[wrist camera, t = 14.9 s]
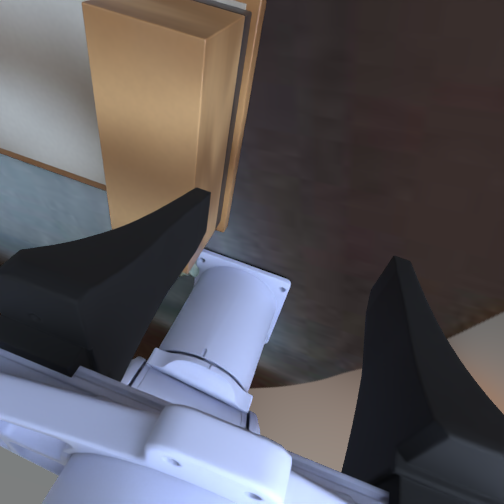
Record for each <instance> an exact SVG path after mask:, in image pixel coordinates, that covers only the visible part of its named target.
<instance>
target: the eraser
mask: <svg viewBox="0 0 504 504" xmlns="http://www.w3.org/2000/svg"><path fill="white" fill-rule="evenodd" d="M81 4H82V12H83V19H84V27H85V34H86V42H87V49H88V56H89V64H90V71H91V79H92V86H93V94H94V101H95V108H96V116H97V123H98V131H99V138H100V145H101V153H102V160H103V168H104V175H105V183H106V190H107V197H108V205H109V212H110V220H111V227H112V230H113V229H116V228H118V227H121V226H124V225H126V224H129V223H131V222H133V221H136V220H138V219H140V218H142V217H144V216H146V215H148V214H150V213H152V212H154V211H156V210H158V209H160V208H161V207H163V206H165V205H167V204H169V203H170V202H172V201H174V200H176V199H177V198H179V197H181V196H182V195H184V194H186V193H187V192H189V191H191V190H192V189H194V188H196V187H197V188H200V189H203V190H206V191H209V192H211V199H210V207H209V215H208V224H207V231H206V233H205V235H204V237H203V239H202V241H201V243H200V245H199V247H198V249H197V251H196V252H195V254H194V255H193V257H192V258H191V260H190V261H189V263H188V264H187V265H186V267H185V268H184V270H183V271H182V272H183V273H186V274H188V273H189V271H190V270H191V268H192V267H193V265H194V263H195V262H196V260H197V259H198V257H199V255H200V254H201V252H202V250H203V249H204V247H205V246H206V244H207V242H208V241H209V239H210V238H211V236H212V234H213V233H214V231H215V229H216V228H217V226H218V225H219V223H220V221H221V214H222V208H223V201H224V194H225V188H226V181H227V175H228V168H229V161H230V155H231V148H232V141H233V135H234V128H235V122H236V115H237V108H238V102H239V95H240V88H241V82H242V75H243V69H244V62H245V55H246V49H247V42H248V35H249V29H250V22H251V16H252V12H251V11H248V10H244V9H241V8H237V7H234V6H230V5H227V4H224V3H220V2H217V1H213V0H88V1H84V2H82V3H81Z"/></svg>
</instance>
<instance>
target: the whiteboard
mask: <svg viewBox="0 0 504 504" xmlns="http://www.w3.org/2000/svg"><path fill="white" fill-rule="evenodd" d="M84 1H88V0H0V153H1V154H4V155H7V156H9V157H12V158H15V159H18V160H21V161H23V162H26V163H29V164H32V165H35V166H37V167H40V168H43V169H46V170H49V171H51V172H54V173H57V174H60V175H63V176H66V177H68V178H71V179H74V180H77V181H80V182H82V183H85V184H88V185H91V186H94V187H96V188H99V189H102V190H105V191H107V190H106V183H105V175H104V168H103V160H102V153H101V145H100V138H99V131H98V123H97V116H96V108H95V101H94V94H93V86H92V79H91V71H90V64H89V56H88V49H87V42H86V34H85V27H84V19H83V12H82V4H81V3H82V2H84ZM213 1H217V2H220V3H224V4H227V5H230V6H234V7H237V8H241V9H244V10H248V11H251V12H252V16H251V22H250V29H249V35H248V42H247V49H246V55H245V62H244V69H243V75H242V82H241V88H240V95H239V102H238V108H237V115H236V122H235V128H234V135H233V141H232V148H231V155H230V161H229V168H228V175H227V181H226V188H225V194H224V201H223V208H222V214H221V221H220V223H219V225H218V226H217V228H216V229H215V230H217V231H220V232H224V231H225V229H226V227H227V226H228V220H229V214H230V208H231V202H232V197H233V191H234V185H235V179H236V174H237V168H238V162H239V156H240V150H241V145H242V139H243V133H244V127H245V122H246V116H247V110H248V104H249V99H250V93H251V87H252V81H253V75H254V70H255V64H256V58H257V52H258V47H259V41H260V35H261V29H262V23H263V18H264V12H265V6H266V0H213Z"/></svg>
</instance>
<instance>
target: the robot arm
mask: <svg viewBox="0 0 504 504" xmlns="http://www.w3.org/2000/svg"><path fill="white" fill-rule="evenodd" d="M210 199H211V192H209V191H206V190H203V189H200V188H197V187H196V188H194V189H192V190H191V191H189V192H187V193H186V194H184V195H182V196H181V197H179V198H177V199H176V200H174V201H172V202H170V203H169V204H167V205H165V206H163V207H161V208H160V209H158V210H156V211H154V212H152V213H150V214H148V215H146V216H144V217H142V218H140V219H138V220H136V221H133V222H131V223H129V224H126V225H124V226H121V227H118V228H116V229H113V230H110V231H107V232H104V233H100V234H97V235H94V236H90V237H87V238H83V239H79V240H75V241H71V242H66V243H61V244H56V245H50V246H43V247H37V248H30V249H22V250H20V251H18V252H17V253H16V254H15V255H13V256H12V257H11V258H10V259H9V260H7V261H6V262H5V263H4V264H3V265H2V266H1V267H0V312H1V314H2V315H1V316H0V446H1V447H3V448H5V449H7V450H9V451H11V452H13V453H15V454H17V455H19V456H21V457H23V458H25V459H27V460H29V461H31V462H33V463H35V464H37V465H39V466H41V467H43V468H45V469H46V470H49V471H50V472H52V473H54V474H56V475H58V476H59V477H58V478H57V480H56V481H55V483H54V485H53V486H52V488H51V489H50V491H49V492H48V494H47V496H46V498H45V499H44V500H43V502H42V504H504V415H503V413H502V412H501V411H500V410H499V409H498V408H497V407H496V405H495V404H494V403H493V402H492V401H491V400H490V399H489V397H488V396H487V395H486V394H485V392H484V391H483V390H482V389H481V388H480V386H479V385H478V384H477V382H476V381H475V380H474V379H473V377H472V376H471V375H470V373H469V372H468V370H467V369H466V368H465V366H464V365H463V364H462V362H461V361H460V359H459V358H458V356H457V355H456V353H455V351H454V350H453V349H452V347H451V345H450V344H449V342H448V340H447V339H446V337H445V335H444V334H443V332H442V330H441V328H440V326H439V324H438V322H437V321H436V319H435V317H434V315H433V313H432V311H431V309H430V306H429V304H428V302H427V300H426V298H425V295H424V293H423V291H422V288H421V286H420V284H419V281H418V279H417V276H416V274H415V271H414V269H413V267H412V264H411V262H410V261H408V260H405V259H402V258H400V257H397V256H393V258H392V259H391V261H390V262H389V264H388V265H387V267H386V268H385V270H384V271H383V273H382V274H381V276H380V277H379V279H378V280H377V282H376V283H375V285H374V286H373V288H372V289H371V292H370V297H369V301H368V306H367V311H366V322H365V337H364V354H363V368H362V377H361V383H360V388H359V394H358V400H357V405H356V410H355V415H354V420H353V425H352V429H351V434H350V438H349V443H348V447H347V452H346V456H345V460H344V464H343V468H342V472H339V471H336V470H334V469H331V468H329V467H326V466H324V465H322V464H319V463H317V462H314V461H312V460H309V459H307V458H304V457H302V456H299V455H297V454H294V453H292V452H290V451H287V450H286V449H285V448H284V447H283V446H282V445H280V444H278V443H276V442H275V441H273V440H271V439H269V438H267V437H264V436H262V435H260V428H259V424H258V419H257V416H256V414H255V413H253V412H251V411H249V408H250V405H251V402H252V399H253V396H252V395H250V394H249V393H248V390H249V388H250V385H251V382H252V379H253V376H254V373H255V370H256V367H257V364H258V361H259V358H260V355H261V352H262V349H263V346H264V343H267V342H268V340H269V338H270V336H271V333H272V331H273V328H274V326H275V323H276V321H277V318H278V316H279V313H280V311H281V308H282V306H283V303H284V301H285V298H286V296H287V293H288V291H289V288H290V286H291V282H290V281H289V280H288V279H286V278H283V277H280V276H278V275H275V274H272V273H269V272H267V271H264V270H261V269H258V268H256V267H253V266H250V265H247V264H245V263H242V262H239V261H236V260H234V259H231V258H228V257H225V256H222V255H220V254H217V253H214V252H211V251H209V250H206V249H203V250H202V252H201V254H200V255H199V257H198V259H197V260H196V265H197V267H198V268H199V274H198V276H197V277H195V279H194V288H193V290H192V292H191V293H190V295H189V297H188V299H187V300H186V302H185V304H184V305H183V307H182V309H181V311H180V312H179V314H178V316H177V318H176V319H175V321H174V323H173V324H172V326H171V328H170V330H169V331H168V333H167V335H166V336H165V338H164V340H163V342H162V343H161V345H160V347H159V349H158V348H155V349H154V351H153V352H152V354H151V356H150V357H149V359H148V361H147V362H146V359H144V358H142V357H140V356H139V357H137V358H136V359H133V360H132V358H133V356H134V354H135V352H136V350H137V348H138V346H139V344H140V342H141V340H142V338H143V336H144V334H145V332H146V330H147V328H148V326H149V324H150V322H151V321H152V319H153V317H154V315H155V313H156V311H157V310H158V308H159V306H160V304H161V302H162V301H163V299H164V297H165V296H166V294H167V293H168V291H169V290H170V288H171V287H172V285H173V284H174V283H175V281H176V280H177V278H178V277H179V275H180V274H181V273H182V271H183V270H184V268H185V267H186V265H187V264H188V263H189V261H190V260H191V258H192V257H193V255H194V254H195V252H196V251H197V249H198V247H199V245H200V243H201V241H202V239H203V237H204V235H205V233H206V231H207V224H208V215H209V207H210ZM202 258H203V259H202ZM282 287H283V288H282Z"/></svg>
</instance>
